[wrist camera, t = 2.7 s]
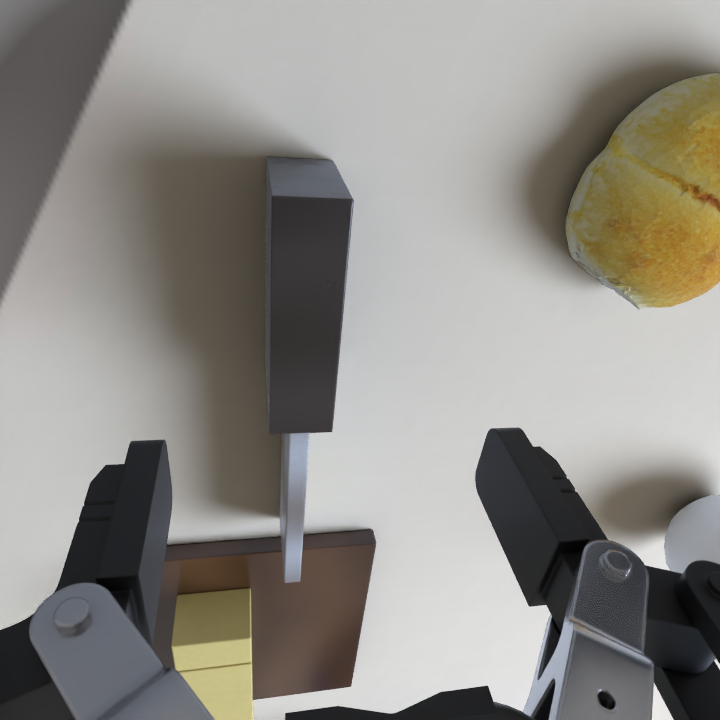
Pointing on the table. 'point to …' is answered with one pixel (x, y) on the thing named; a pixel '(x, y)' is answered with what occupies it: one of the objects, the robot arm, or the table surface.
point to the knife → (302, 321)
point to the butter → (224, 690)
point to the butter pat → (212, 629)
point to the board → (281, 605)
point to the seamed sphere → (694, 534)
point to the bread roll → (655, 199)
